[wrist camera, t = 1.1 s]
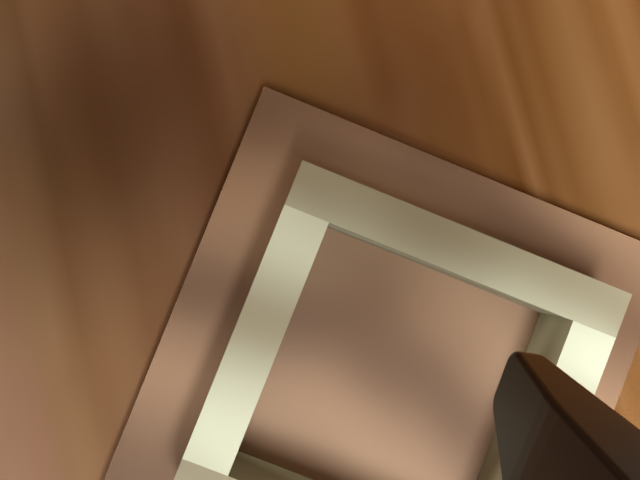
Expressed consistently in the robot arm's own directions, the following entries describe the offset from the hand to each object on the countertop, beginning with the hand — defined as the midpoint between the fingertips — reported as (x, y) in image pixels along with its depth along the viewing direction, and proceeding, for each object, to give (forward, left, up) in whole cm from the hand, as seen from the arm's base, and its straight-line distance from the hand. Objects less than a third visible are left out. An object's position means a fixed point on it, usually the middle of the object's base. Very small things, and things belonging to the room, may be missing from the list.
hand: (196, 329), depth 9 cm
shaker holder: (+1, -6, -14) cm, 15 cm away
